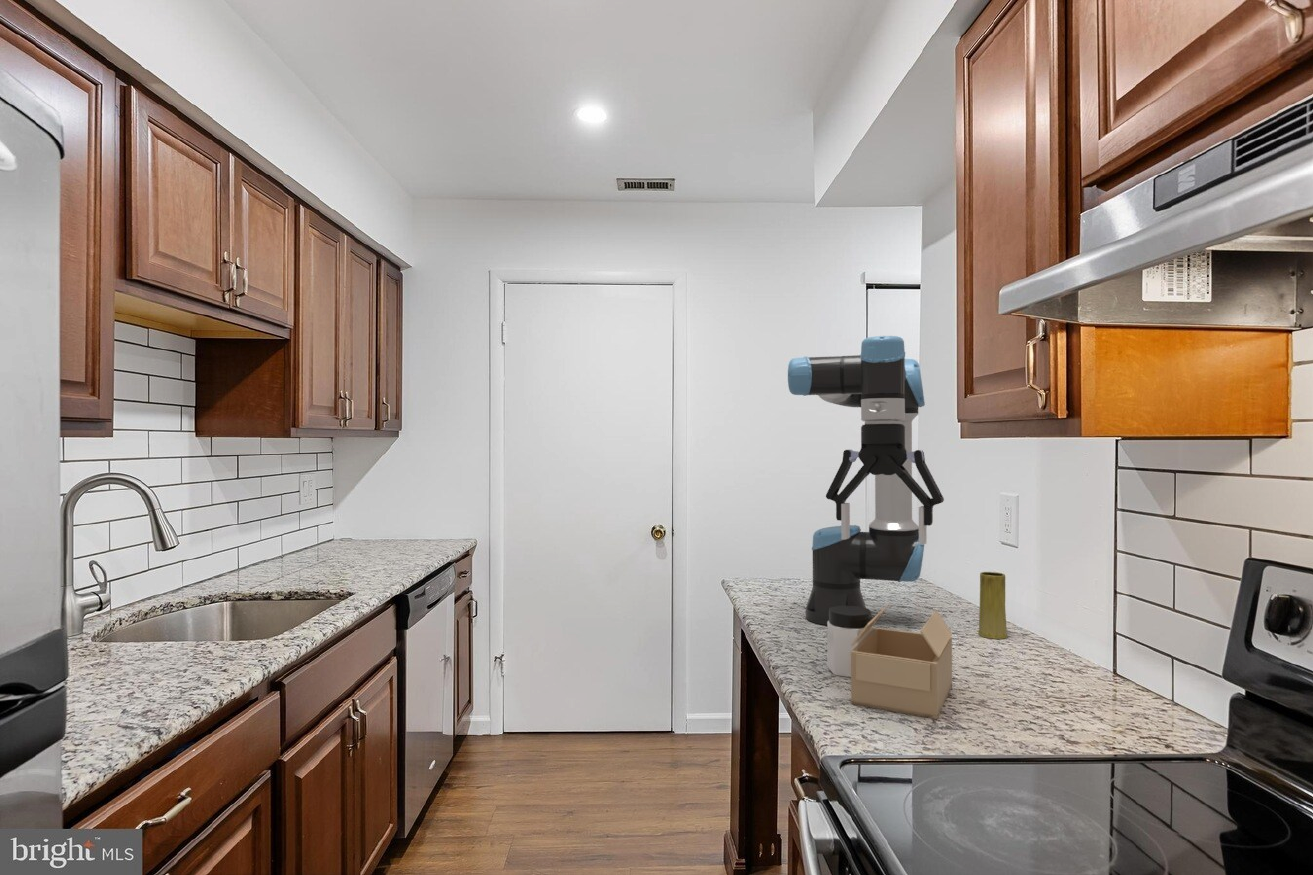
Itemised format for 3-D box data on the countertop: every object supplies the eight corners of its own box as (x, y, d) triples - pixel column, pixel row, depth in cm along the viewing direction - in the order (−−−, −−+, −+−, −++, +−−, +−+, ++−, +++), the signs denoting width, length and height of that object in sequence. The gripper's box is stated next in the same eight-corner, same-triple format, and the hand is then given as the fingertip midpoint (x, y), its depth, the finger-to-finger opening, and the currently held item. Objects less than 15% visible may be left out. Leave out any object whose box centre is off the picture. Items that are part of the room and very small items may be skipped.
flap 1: (873, 624, 141) (872, 623, 141) (888, 605, 139) (887, 604, 139) (852, 646, 127) (850, 644, 127) (868, 625, 125) (867, 623, 125)
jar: (850, 681, 137) (850, 617, 137) (818, 669, 144) (818, 609, 144) (882, 672, 142) (882, 611, 142) (850, 661, 149) (849, 603, 149)
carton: (875, 673, 142) (875, 626, 142) (952, 684, 135) (952, 636, 135) (850, 704, 125) (850, 652, 125) (936, 720, 119) (936, 664, 119)
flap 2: (934, 610, 135) (936, 610, 135) (951, 634, 134) (952, 633, 134) (919, 631, 121) (921, 630, 121) (937, 657, 120) (939, 656, 120)
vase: (1004, 640, 164) (1004, 577, 164) (975, 636, 167) (975, 574, 167) (1009, 634, 169) (1009, 573, 169) (981, 630, 172) (981, 570, 172)
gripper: (808, 423, 134) (809, 538, 134) (953, 421, 121) (953, 549, 121) (822, 424, 141) (822, 534, 141) (960, 422, 128) (960, 543, 128)
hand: (883, 541), depth 131 cm, fingers open, 13 cm apart
